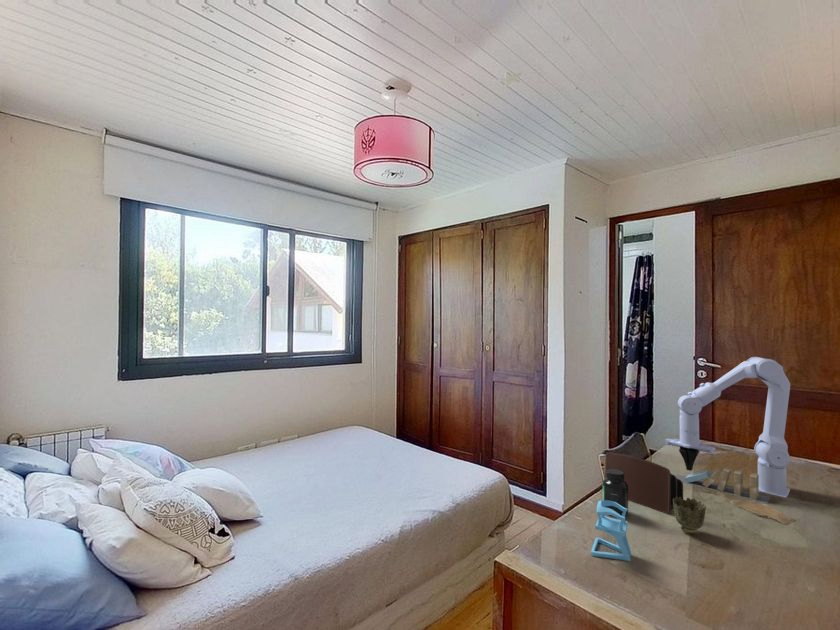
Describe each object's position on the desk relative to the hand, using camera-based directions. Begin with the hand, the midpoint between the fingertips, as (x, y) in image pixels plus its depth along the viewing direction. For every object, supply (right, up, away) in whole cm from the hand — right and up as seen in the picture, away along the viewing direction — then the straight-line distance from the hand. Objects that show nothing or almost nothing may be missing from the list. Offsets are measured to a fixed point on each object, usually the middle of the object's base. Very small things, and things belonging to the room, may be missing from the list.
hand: (689, 469), depth 142 cm
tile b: (+6, -4, -7) cm, 10 cm away
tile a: (+3, -4, -4) cm, 6 cm away
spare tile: (0, -3, 0) cm, 3 cm away
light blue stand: (-47, -4, -43) cm, 64 cm away
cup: (-22, -4, -33) cm, 40 cm away
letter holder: (-24, -5, -13) cm, 27 cm away
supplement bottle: (-37, -4, -22) cm, 43 cm away
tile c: (+9, -4, -10) cm, 14 cm away
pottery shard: (+6, -5, -22) cm, 24 cm away
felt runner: (+6, -4, -6) cm, 9 cm away
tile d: (+12, -4, -13) cm, 18 cm away
